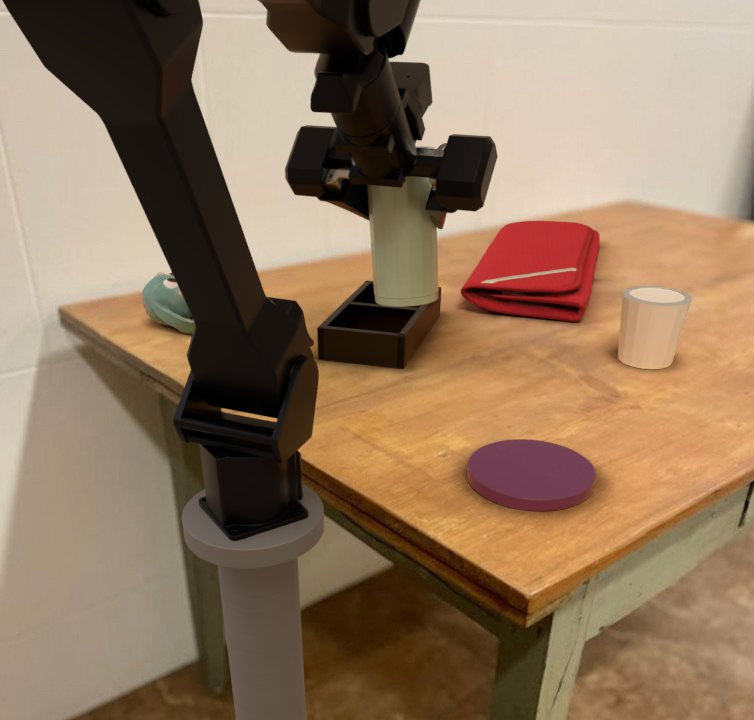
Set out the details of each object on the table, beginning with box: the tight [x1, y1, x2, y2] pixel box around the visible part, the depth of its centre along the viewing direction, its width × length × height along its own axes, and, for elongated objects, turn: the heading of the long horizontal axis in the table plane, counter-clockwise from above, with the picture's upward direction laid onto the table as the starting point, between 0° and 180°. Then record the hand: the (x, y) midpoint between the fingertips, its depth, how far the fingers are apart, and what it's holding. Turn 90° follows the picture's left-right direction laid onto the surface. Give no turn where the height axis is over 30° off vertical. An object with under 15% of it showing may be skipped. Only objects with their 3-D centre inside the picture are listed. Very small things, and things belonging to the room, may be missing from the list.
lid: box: [466, 438, 597, 512], centre depth 64 cm, size 10×10×1 cm
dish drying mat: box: [460, 220, 601, 323], centre depth 114 cm, size 16×41×4 cm, turn 165°
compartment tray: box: [316, 280, 442, 370], centre depth 91 cm, size 18×9×4 cm, turn 164°
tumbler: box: [367, 145, 439, 307], centre depth 80 cm, size 6×6×14 cm
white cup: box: [617, 285, 693, 370], centre depth 85 cm, size 7×7×7 cm
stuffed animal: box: [141, 271, 195, 335], centre depth 94 cm, size 11×7×12 cm
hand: (408, 221), depth 81 cm, fingers closed on tumbler, 7 cm apart
